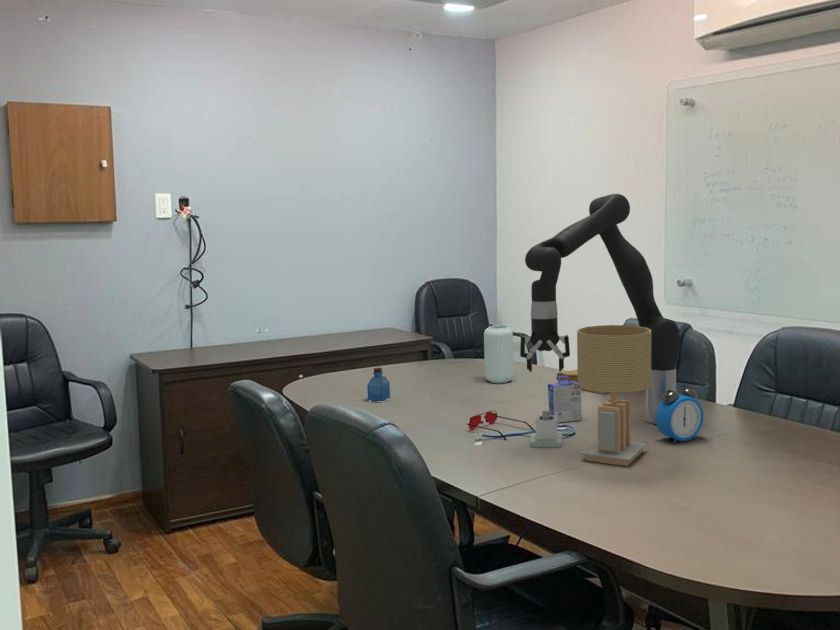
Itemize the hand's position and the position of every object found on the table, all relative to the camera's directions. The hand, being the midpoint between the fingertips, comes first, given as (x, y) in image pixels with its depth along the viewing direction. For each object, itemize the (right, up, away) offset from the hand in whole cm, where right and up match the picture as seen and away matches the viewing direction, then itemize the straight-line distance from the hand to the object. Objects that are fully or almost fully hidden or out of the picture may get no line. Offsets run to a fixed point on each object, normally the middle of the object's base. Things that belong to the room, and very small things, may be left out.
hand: (545, 371), depth 233 cm
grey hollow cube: (+1, -20, +3) cm, 20 cm away
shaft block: (+1, -21, +3) cm, 22 cm away
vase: (-5, -11, +89) cm, 89 cm away
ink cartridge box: (+11, -18, +27) cm, 34 cm away
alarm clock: (+40, -20, +2) cm, 45 cm away
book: (+30, -12, +74) cm, 80 cm away
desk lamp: (+17, -23, -12) cm, 31 cm away
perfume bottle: (-52, -16, +64) cm, 84 cm away
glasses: (-11, -21, +17) cm, 29 cm away
